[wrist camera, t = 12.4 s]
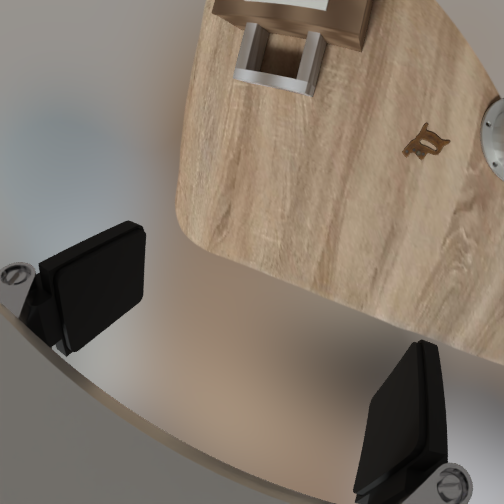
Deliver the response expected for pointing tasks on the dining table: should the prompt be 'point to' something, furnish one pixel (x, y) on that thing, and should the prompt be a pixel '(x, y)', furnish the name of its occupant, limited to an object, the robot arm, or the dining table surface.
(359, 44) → the wooden box
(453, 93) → the dining table surface
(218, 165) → the dining table surface
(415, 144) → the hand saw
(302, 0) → the lid mat
